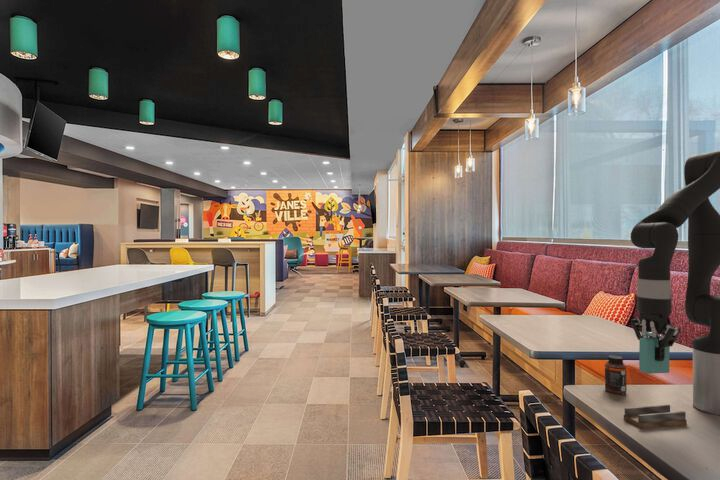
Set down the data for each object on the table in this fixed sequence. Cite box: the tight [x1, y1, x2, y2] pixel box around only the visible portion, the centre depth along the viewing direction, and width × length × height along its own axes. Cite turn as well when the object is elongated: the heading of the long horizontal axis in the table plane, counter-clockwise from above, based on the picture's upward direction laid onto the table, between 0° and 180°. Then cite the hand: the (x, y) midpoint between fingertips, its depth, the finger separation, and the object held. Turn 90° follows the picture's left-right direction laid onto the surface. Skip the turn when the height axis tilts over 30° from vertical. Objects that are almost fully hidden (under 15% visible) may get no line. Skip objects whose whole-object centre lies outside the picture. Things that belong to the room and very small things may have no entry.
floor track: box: [623, 404, 688, 429], centre depth 108 cm, size 14×6×3 cm, turn 99°
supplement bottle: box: [604, 354, 628, 395], centre depth 129 cm, size 6×6×11 cm
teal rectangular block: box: [638, 337, 671, 375], centre depth 108 cm, size 7×2×9 cm, turn 99°
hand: (654, 359), depth 108 cm, fingers closed on teal rectangular block, 2 cm apart
